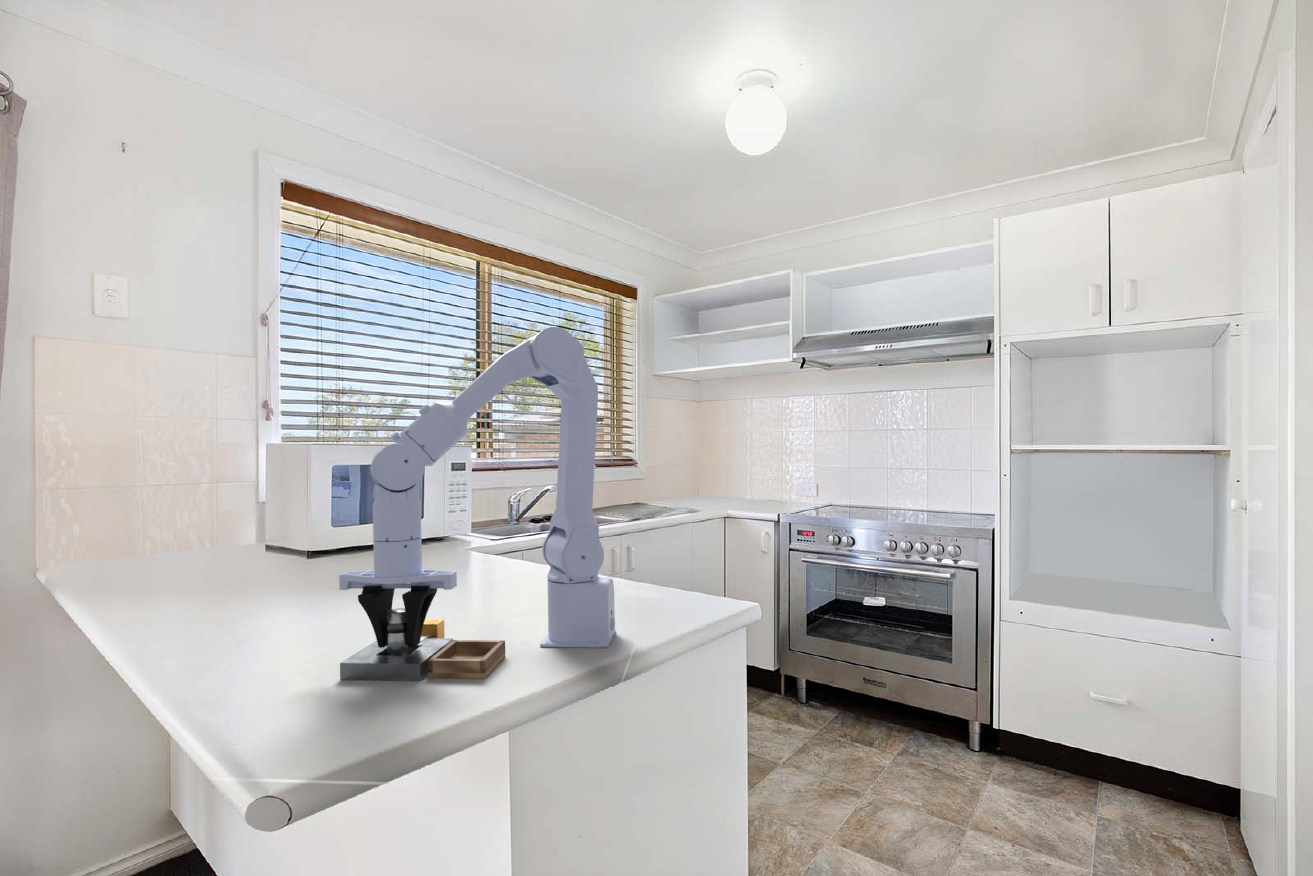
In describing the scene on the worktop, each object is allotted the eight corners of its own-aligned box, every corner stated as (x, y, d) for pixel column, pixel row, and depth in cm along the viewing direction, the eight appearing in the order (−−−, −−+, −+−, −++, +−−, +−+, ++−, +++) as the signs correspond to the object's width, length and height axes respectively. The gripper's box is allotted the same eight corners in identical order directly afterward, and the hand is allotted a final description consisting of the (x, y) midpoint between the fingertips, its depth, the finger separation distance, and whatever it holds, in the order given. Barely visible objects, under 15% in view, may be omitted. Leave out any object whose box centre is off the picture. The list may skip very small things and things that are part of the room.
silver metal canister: (417, 661, 86) (417, 607, 86) (406, 670, 82) (405, 614, 82) (393, 661, 86) (392, 607, 86) (380, 670, 82) (379, 614, 83)
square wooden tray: (505, 656, 87) (505, 640, 87) (484, 678, 79) (484, 661, 79) (453, 656, 88) (453, 640, 88) (428, 677, 80) (427, 660, 80)
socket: (381, 652, 89) (381, 637, 89) (453, 653, 89) (452, 638, 89) (340, 679, 79) (339, 663, 79) (420, 680, 79) (420, 663, 79)
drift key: (420, 641, 94) (419, 619, 94) (444, 642, 94) (444, 619, 94) (392, 661, 86) (392, 636, 86) (419, 661, 86) (418, 636, 86)
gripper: (464, 533, 88) (466, 636, 88) (358, 534, 88) (360, 635, 88) (444, 541, 81) (445, 653, 80) (329, 542, 81) (331, 652, 81)
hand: (399, 645), depth 84 cm, fingers closed on silver metal canister, 3 cm apart
